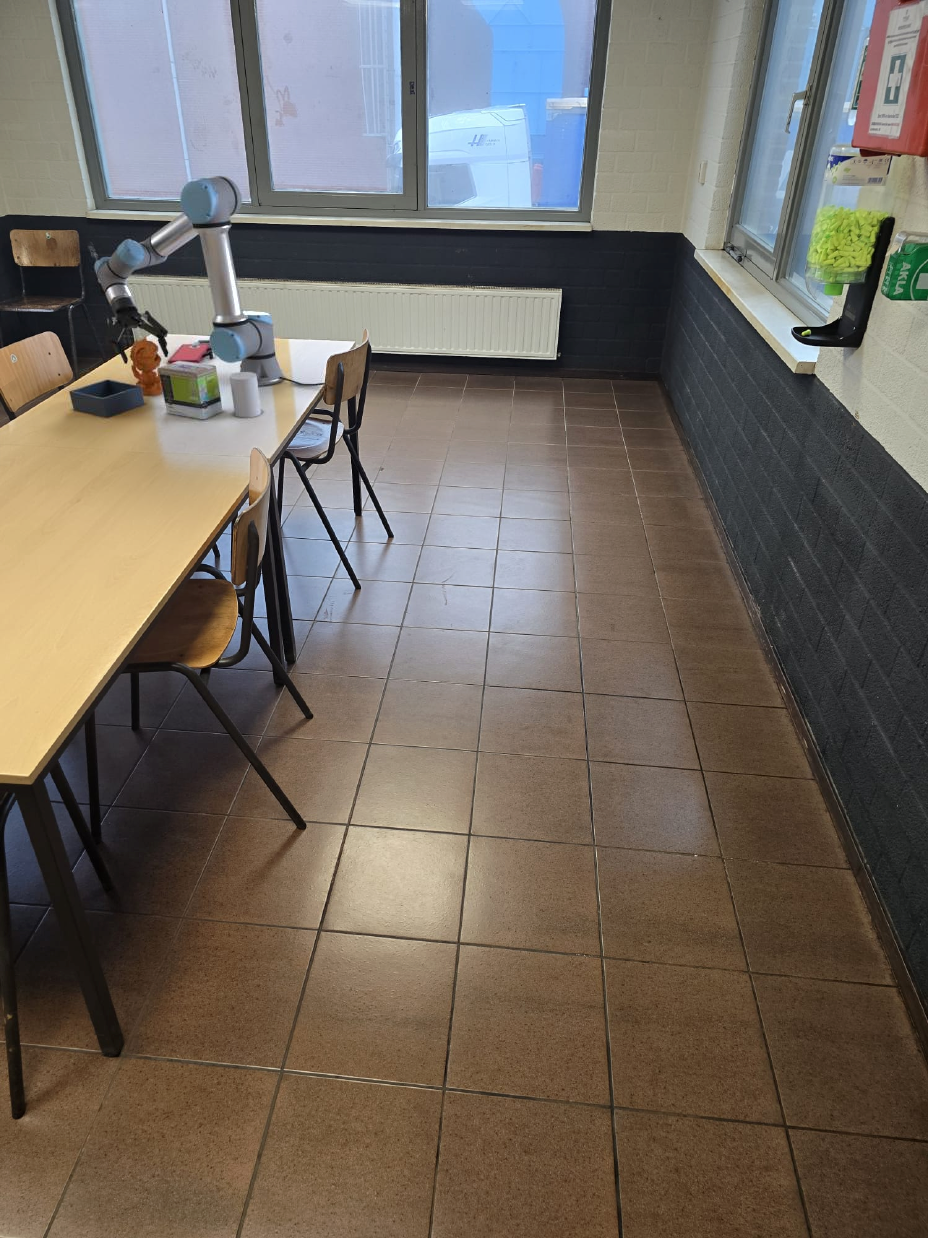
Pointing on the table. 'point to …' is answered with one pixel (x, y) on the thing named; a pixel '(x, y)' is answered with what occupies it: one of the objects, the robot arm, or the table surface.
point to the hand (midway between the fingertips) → (146, 358)
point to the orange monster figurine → (146, 366)
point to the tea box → (191, 389)
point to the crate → (107, 398)
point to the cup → (245, 394)
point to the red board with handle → (192, 352)
